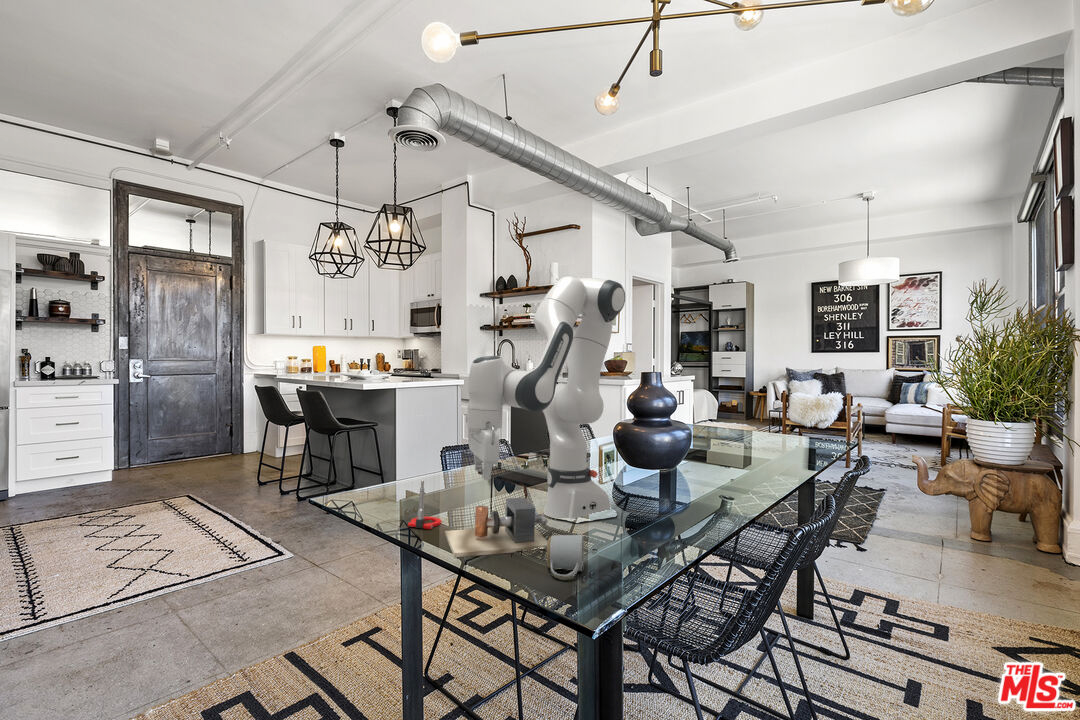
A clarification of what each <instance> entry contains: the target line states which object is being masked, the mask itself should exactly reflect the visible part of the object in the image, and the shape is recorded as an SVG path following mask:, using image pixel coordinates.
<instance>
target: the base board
mask: <svg viewBox="0 0 1080 720" xmlns="http://www.w3.org/2000/svg"><path fill="white" fill-rule="evenodd" d="M444 536H445V538H446V541H447V544H448V545H449V548H450V550H451V553H452V555H453V558H454V559H455V558H464V557H465V558H467V557H476V556H485V555H486V556H487V555H489V556H490V555H496V554H509V553H517V552H516V551H521V550H531V549H534V548H538V547H541V546H547V542H548V539H547V538H546V537H544V536H543V534H542V533H541V532H540V531H539V530H538V529H537V528H536V527H535V531H534V542H526V543H514V542H513V540H512V539H511V538H510V536H509V535H508V534H507V532H506V531H505V526H504V527H500V528H499V533H498V534H493V533H492V529H491V528H488V535H487V536H486V537H476V536H475V528H469V529H468V528H467V529H465V528H464V529H454V530H452V529H451V530H445V531H444Z"/></svg>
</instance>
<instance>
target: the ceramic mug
mask: <svg viewBox="0 0 1080 720" xmlns="http://www.w3.org/2000/svg"><path fill="white" fill-rule="evenodd" d="M584 540H585V539H584V535H583V534H567V535H566V534H559V535H558V534H557V535H556V534H555V535H552V536H551V535H550V536H549V537H548V539H547V541H548V542H547V549H546V565H547V567H548V566H549V567H551V568H550V573H551V572H552V573H553V574H554V575H557V576H563V577H570V576H574V575H575V574H576V575H577V573H578V572H579V571H578V570H582V562H583V561H584V560H585V559H584V558H585V555H584V554H585V553H584V550H585V549H584V548H585V546H584V543H585V542H584ZM584 562H585V561H584ZM549 567H548V568H549ZM553 568H561V569H571V570H573V571H570V572H569V573H567V574H560V573H557V572H556V571H555V569H553ZM552 573H551V574H552ZM576 575H575V576H576Z"/></svg>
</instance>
